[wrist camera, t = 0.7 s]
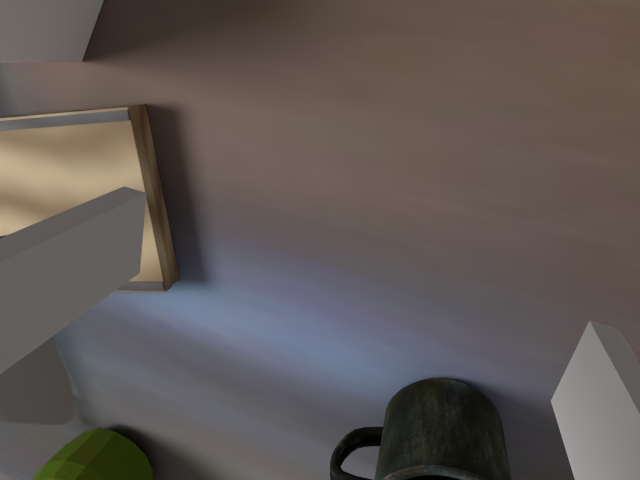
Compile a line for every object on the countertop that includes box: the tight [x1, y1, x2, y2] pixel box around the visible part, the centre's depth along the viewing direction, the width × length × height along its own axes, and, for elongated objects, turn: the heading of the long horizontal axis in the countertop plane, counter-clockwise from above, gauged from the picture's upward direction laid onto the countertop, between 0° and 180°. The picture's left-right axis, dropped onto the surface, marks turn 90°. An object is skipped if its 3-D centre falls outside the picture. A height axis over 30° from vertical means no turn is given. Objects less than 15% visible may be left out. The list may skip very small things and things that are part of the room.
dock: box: [0, 104, 179, 292], centre depth 46 cm, size 16×16×3 cm
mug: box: [330, 378, 511, 480], centre depth 42 cm, size 11×15×12 cm
